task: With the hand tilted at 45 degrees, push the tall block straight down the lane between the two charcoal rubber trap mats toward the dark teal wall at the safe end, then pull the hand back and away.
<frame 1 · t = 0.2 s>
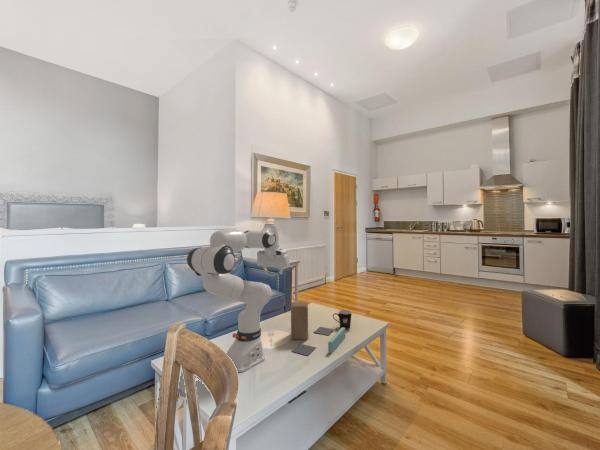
hand: (273, 273, 164), 39 cm above the table, tool pointing down, fingers open, 8 cm apart
coffee mug: (343, 326, 182), on the table
trap mats: (314, 340, 162), on the table
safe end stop: (337, 344, 155), on the table
block: (299, 337, 167), on the table
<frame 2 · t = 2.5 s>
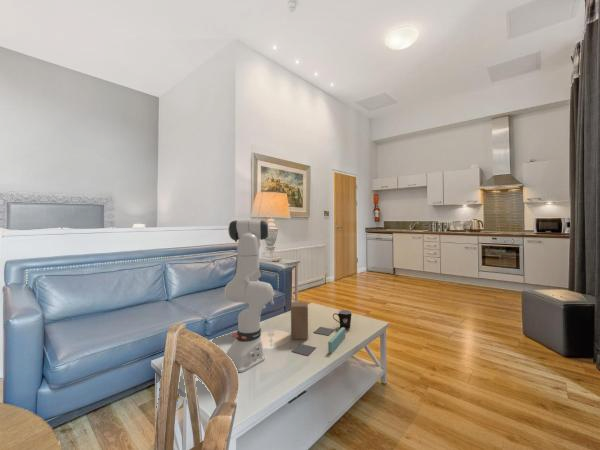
hand: (269, 306, 177), 15 cm above the table, tool tilted 45°, fingers open, 8 cm apart
nothing on the table moved.
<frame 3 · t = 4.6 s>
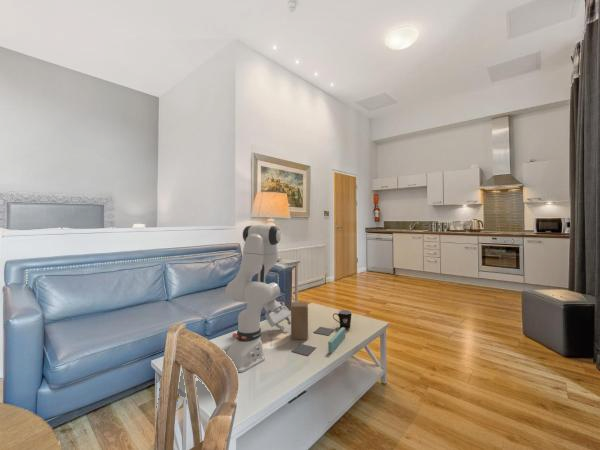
hand: (286, 326, 171), 5 cm above the table, tool tilted 45°, fingers open, 8 cm apart
nothing on the table moved.
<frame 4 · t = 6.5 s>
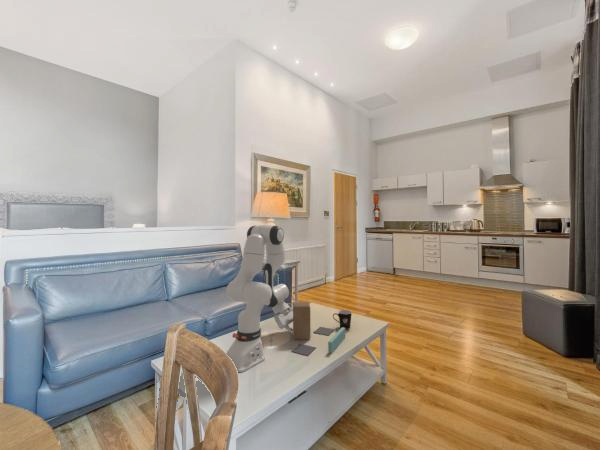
hand: (295, 328, 168), 4 cm above the table, tool tilted 45°
block: (301, 337, 166), on the table, touching gripper
everything else where it was.
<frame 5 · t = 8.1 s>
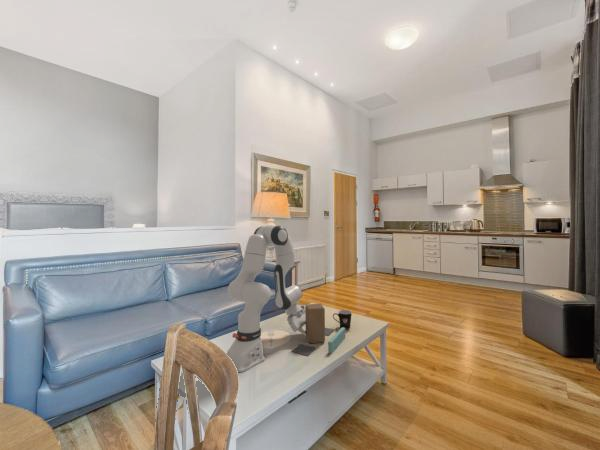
hand: (309, 331, 164), 4 cm above the table, tool tilted 45°
block: (315, 340, 162), on the table, touching gripper
everything else where it was.
when the fingers open (4 cm above the table, at t = 9.8 s): block stays where it is, on the table.
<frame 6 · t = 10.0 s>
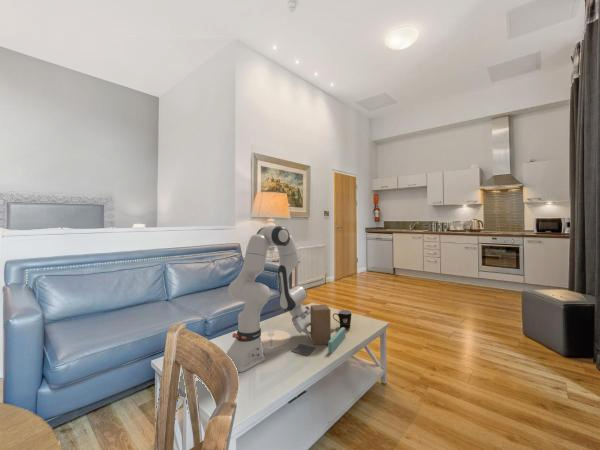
hand: (314, 332, 162), 4 cm above the table, tool tilted 45°, fingers open, 8 cm apart
block: (320, 341, 160), on the table
everything else where it was.
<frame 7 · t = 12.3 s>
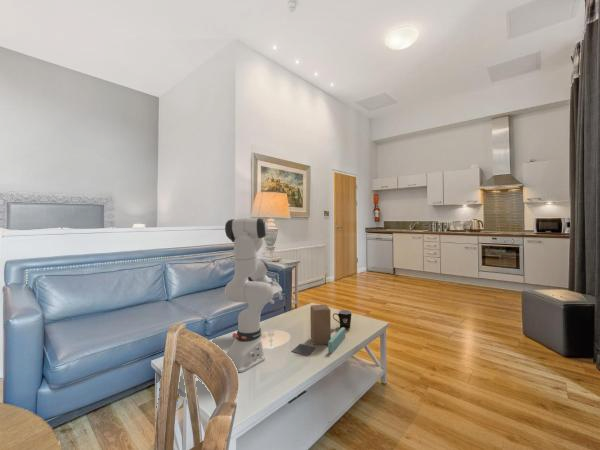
hand: (277, 301, 174), 20 cm above the table, tool tilted 45°, fingers open, 8 cm apart
nothing on the table moved.
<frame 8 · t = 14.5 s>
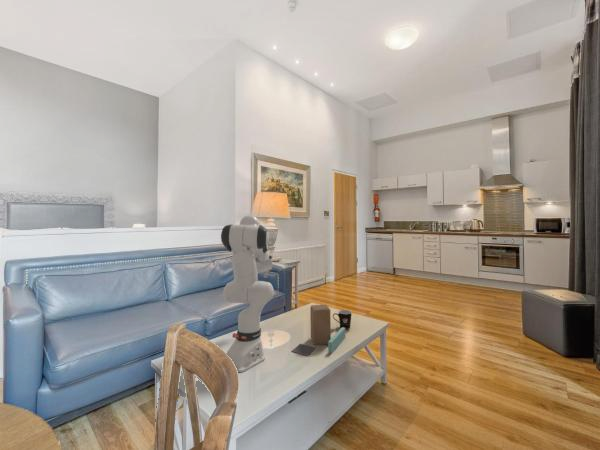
hand: (261, 279, 176), 33 cm above the table, tool pointing down, fingers open, 8 cm apart
nothing on the table moved.
at the end: block inside the target area (1.4 cm from its centre), on the table; block tilted 0°; block touching table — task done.
